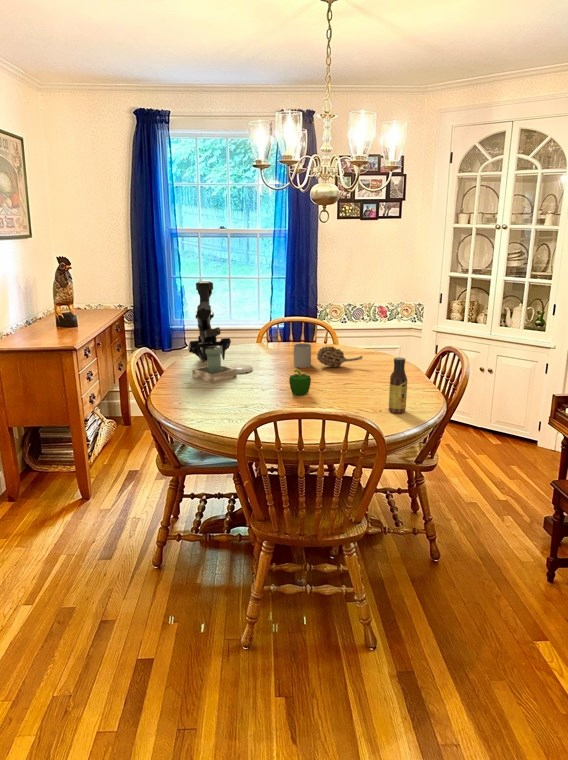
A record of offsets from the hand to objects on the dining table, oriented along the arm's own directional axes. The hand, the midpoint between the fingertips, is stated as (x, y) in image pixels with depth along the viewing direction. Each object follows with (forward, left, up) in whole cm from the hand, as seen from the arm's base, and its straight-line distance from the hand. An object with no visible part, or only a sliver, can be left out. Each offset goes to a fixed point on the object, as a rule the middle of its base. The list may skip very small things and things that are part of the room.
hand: (214, 360), depth 250 cm
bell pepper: (+46, +7, -8) cm, 47 cm away
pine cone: (+31, +51, -8) cm, 60 cm away
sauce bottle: (+86, +16, -8) cm, 88 cm away
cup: (+16, +41, -8) cm, 45 cm away
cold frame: (0, 0, -8) cm, 8 cm away
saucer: (0, +15, -8) cm, 17 cm away
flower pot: (0, 0, -8) cm, 8 cm away
